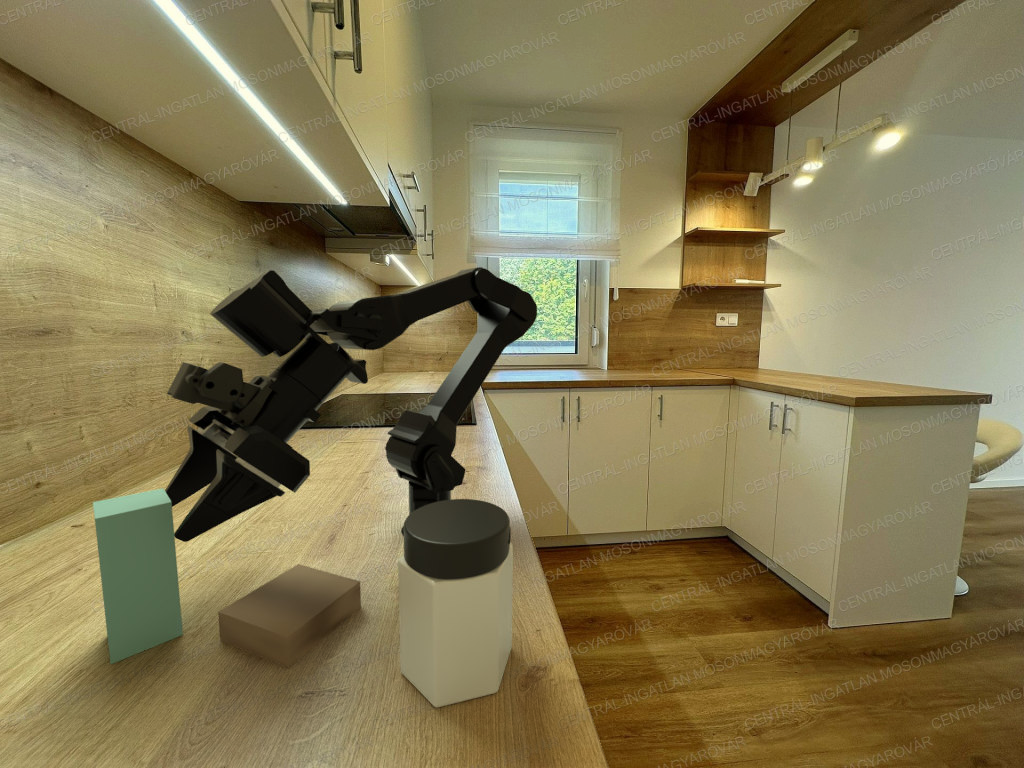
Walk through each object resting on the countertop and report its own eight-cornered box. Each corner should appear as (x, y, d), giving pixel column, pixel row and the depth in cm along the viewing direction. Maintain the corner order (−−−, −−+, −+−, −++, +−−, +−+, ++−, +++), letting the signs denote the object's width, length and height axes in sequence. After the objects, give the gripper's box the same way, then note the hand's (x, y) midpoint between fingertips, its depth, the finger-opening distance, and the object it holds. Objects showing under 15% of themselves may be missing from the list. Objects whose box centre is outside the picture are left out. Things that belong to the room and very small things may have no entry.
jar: (533, 662, 33) (536, 519, 32) (454, 732, 27) (452, 560, 26) (461, 611, 39) (461, 489, 38) (383, 659, 33) (379, 516, 32)
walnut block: (299, 591, 42) (298, 564, 42) (361, 610, 40) (360, 581, 39) (220, 644, 35) (218, 611, 35) (289, 672, 32) (287, 637, 32)
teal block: (174, 611, 39) (163, 488, 37) (182, 634, 36) (171, 501, 34) (107, 635, 35) (92, 502, 34) (110, 664, 32) (94, 518, 31)
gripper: (208, 332, 45) (69, 449, 38) (262, 331, 32) (67, 508, 25) (289, 397, 51) (183, 507, 44) (361, 418, 38) (228, 577, 32)
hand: (170, 521), depth 36 cm, fingers open, 9 cm apart
